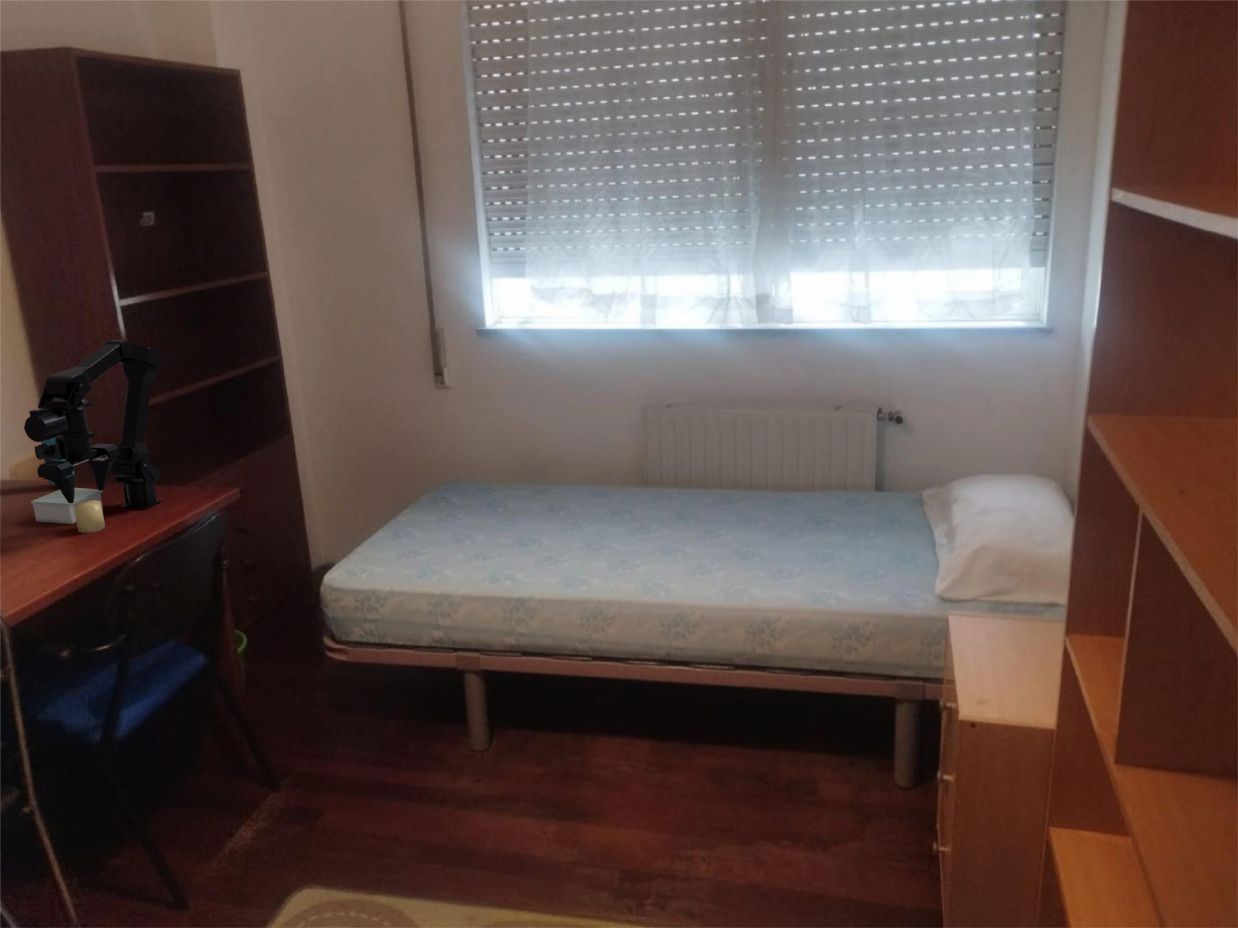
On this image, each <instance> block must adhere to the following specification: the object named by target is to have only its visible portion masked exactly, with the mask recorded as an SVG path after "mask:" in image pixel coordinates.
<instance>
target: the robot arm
mask: <svg viewBox="0 0 1238 928" xmlns="http://www.w3.org/2000/svg"><path fill="white" fill-rule="evenodd" d="M118 363H119V364H122V371H123V374H124V376H125V379H126V380H127V388H126V389H127V390H126V397H125V398H126V399H125V408H124V415H123V423H122V425H123V426H122V432H121V439H120V441H119V443H118V444H117V445H116V444H115V443H95V444H93V445H92V442H91V439H93V438H94V437H95V434H94V432H91V431H89V426H88V420H87V413H86V409H85V408H89V407H92V402H90V401H88V400H86V399H85V397H86V396H87V395H88V394H89V392H91V390H92V388H93V386H92V385H93V383H94V382H95V381H96V380H98V379H99V378H100V377H101V376H103V375H104V374H105V373H106V372H108V371H109V370H111V368H113V367H114V366H116V365H117V364H118ZM162 365H163V356H162V355H161V353H160V351H159V350H158V349H157V348H156V347H147V346H146V347H145V346H142V345H140V344H139V345H138V344H135V343H133V342H129V341H128V340H125V339H124V340H123V339H122V340H120V339H111V340H108V341H106V342H105V343H104V345H102V347H100V348H98V349H97V350H96V351H94V352H93V353H91V354H90V355H89V356H88V357H86V358H85V359H84V360H82V361H81V362H79V363H78V364H77V365H75V366H74V367H71V368H67V369H65V370H60V371H58V372H56V373H53V374H51V375H49V376H48V377H46V380H45V385H44V388H43V390H42V394H41V396H40V400H39V402H38V405H37V408H38V409H31V410H29V413H28V414H29V417H27V418H26V419H25V422H24V425H23V429H24V432H25V434H26V436H27V437H28V438H29V439H30V440H31V441H33V442H35V443H40V444H38V445H35V446H34V455H35V456H36V459H38V460H39V461H41V460H43V463H40V464H39V465H38V466H37V468H36V471H37V476H38V478H42V479H44V480H46V481H47V480H51V481H52V482H54V483H55V484H54V485H55V486H56V487H57V488H58V490H60V491H61V492H62V494H63V495H64V497H65V498H66V500H67V501H68V503H74V496H75V488H76V474H74V475H71V474H72V472H73V470H74V468H75V467H77V466H79V465H84V464H86V463H88V464H89V466H90V467H91V468H92V472H93V475H94V479H95V480H94V481H95V484H96V487H97V489H98V490H99V491H102V490H103V491H104V489H105V487H106V483H107V480H108V478H109V475H110V472H111V473H112V476H113V477H114V479H115V481H116V483H117V484H118V483H120V484H121V483H122V484H123V487H122V491H123V496H124V497H123V498H124V503H125V504H123V505H121V507H122V508H123V509H134V510H135V509H136V510H146V509H148V508H150V507H152V506H154V505H156V504H158V503H162V502H163V501H162V499H161V498H157V491H156V487H155V483H156V482H157V481H158V480H160V475H161V474H160V473H161V471H160V469H158V467H156V466H154V465H153V464H152V463H151V457H150V455H151V454H150V452H149V450H148V448H147V446H146V444H145V437H146V432H147V431H146V430H147V423H148V422H147V421H148V414H149V404H150V397H151V386H152V385H153V383H154V382H155V380H156V379H157V378H158V377H159V376H160V372H161V369H162ZM54 437H56V438H55V442H56V443H55V444H53V445H50V446H48V445H47V444H45V443H43V444H41V442H42V441H45V440H48V439H51V438H54ZM52 459H57V460H62V459H65V461H49V460H52Z"/></svg>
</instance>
